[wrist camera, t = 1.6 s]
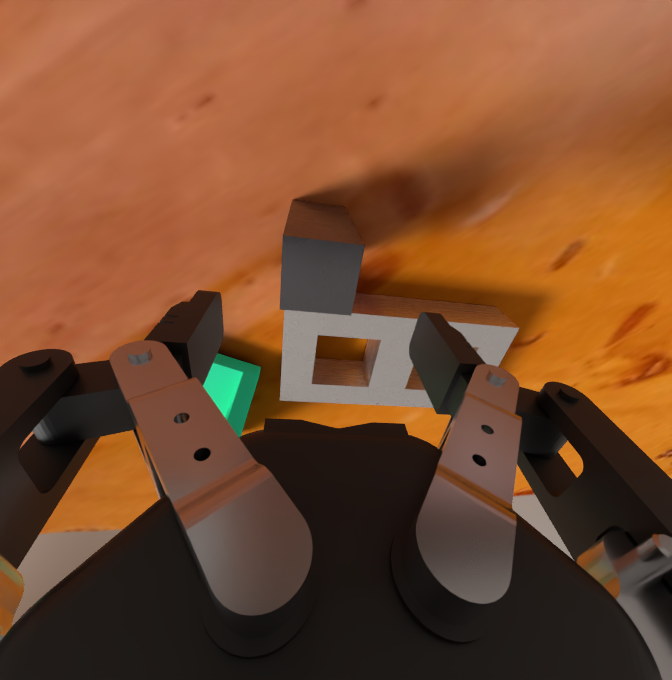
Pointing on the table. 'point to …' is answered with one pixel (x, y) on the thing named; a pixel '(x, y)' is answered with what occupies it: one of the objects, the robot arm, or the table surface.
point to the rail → (379, 349)
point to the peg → (320, 259)
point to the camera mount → (232, 388)
